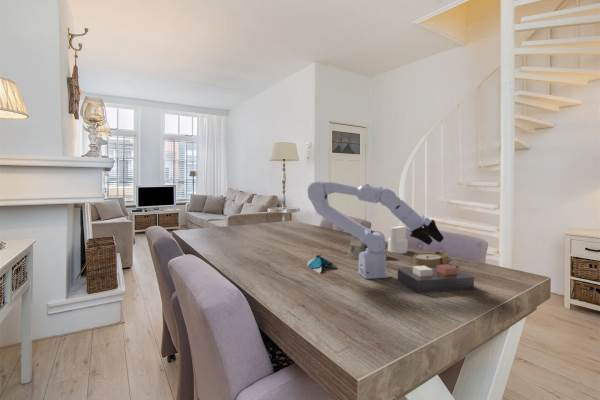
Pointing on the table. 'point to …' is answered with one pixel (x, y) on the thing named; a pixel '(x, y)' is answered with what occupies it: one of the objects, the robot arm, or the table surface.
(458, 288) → the grey flat block
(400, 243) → the cream upright block
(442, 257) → the alarm clock
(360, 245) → the ceramic cottage
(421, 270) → the cream key
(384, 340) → the table surface
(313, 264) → the decorative butterfly
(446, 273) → the red key
